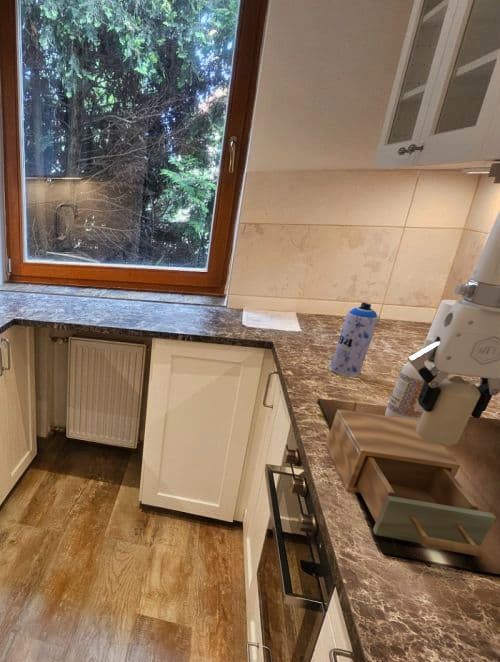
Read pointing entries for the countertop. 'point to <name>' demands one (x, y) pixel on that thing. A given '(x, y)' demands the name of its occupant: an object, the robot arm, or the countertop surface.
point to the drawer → (422, 505)
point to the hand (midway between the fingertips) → (448, 409)
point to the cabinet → (380, 444)
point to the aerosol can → (354, 341)
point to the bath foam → (408, 391)
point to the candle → (449, 412)
